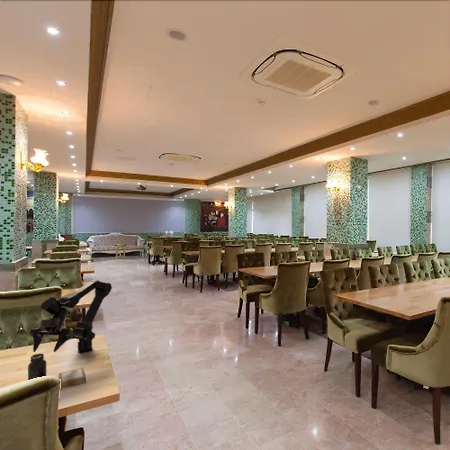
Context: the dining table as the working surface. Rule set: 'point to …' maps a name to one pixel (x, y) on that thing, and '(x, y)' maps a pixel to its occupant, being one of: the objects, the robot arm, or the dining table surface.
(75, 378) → the walnut plinth
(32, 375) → the supplement bottle
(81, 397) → the dining table surface
